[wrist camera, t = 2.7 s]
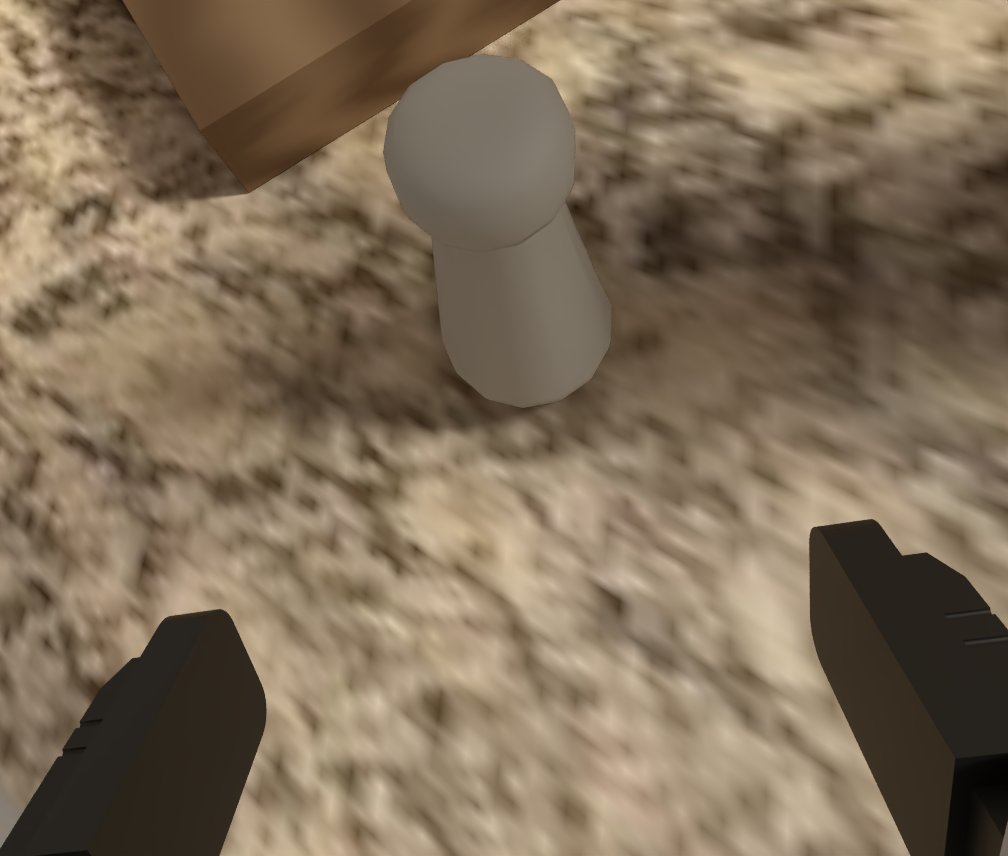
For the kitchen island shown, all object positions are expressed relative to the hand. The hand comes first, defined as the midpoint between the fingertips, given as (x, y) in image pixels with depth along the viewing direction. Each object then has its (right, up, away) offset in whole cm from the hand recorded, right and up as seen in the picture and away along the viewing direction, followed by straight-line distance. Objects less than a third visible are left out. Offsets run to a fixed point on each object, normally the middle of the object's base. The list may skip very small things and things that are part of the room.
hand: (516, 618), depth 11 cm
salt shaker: (+1, +5, +18) cm, 19 cm away
